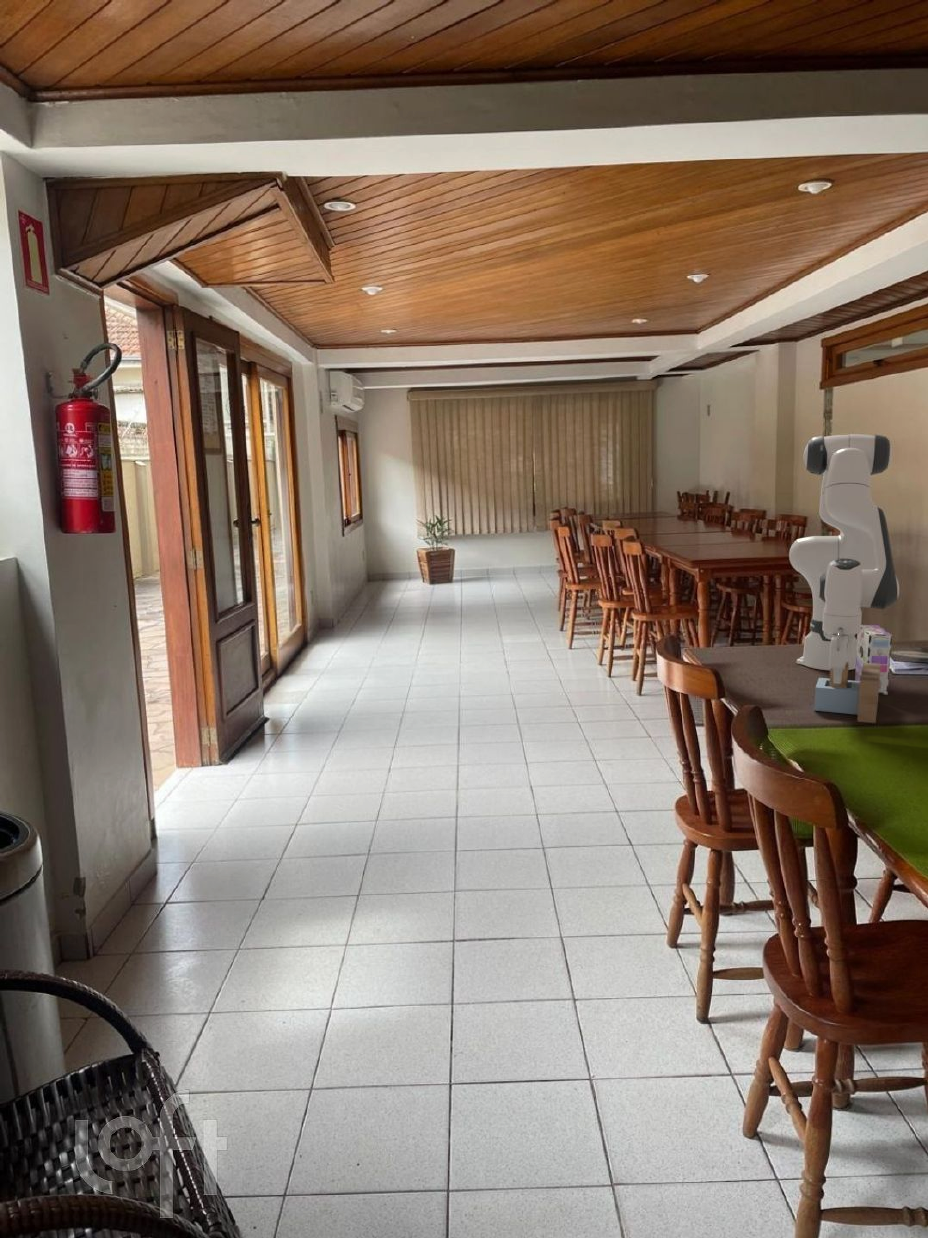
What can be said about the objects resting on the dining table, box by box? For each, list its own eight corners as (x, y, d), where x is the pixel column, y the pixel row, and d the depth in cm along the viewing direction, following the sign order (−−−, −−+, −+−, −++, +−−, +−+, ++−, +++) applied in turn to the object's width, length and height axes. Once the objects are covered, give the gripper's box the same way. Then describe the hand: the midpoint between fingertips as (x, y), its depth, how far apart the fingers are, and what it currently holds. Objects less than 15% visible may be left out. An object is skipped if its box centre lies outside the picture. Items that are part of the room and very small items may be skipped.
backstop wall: (861, 699, 234) (863, 662, 232) (878, 701, 232) (880, 663, 230) (857, 721, 216) (859, 681, 215) (875, 723, 215) (878, 682, 213)
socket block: (817, 699, 234) (819, 677, 233) (859, 703, 230) (860, 681, 229) (814, 710, 225) (815, 687, 224) (857, 714, 221) (859, 691, 220)
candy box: (888, 695, 237) (892, 634, 234) (865, 694, 239) (868, 634, 236) (876, 681, 251) (879, 624, 248) (853, 681, 252) (857, 623, 249)
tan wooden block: (829, 698, 230) (831, 660, 228) (846, 700, 228) (848, 661, 226) (828, 702, 226) (830, 664, 224) (845, 704, 225) (847, 665, 223)
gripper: (853, 633, 213) (849, 690, 216) (857, 618, 231) (854, 670, 234) (824, 632, 216) (821, 687, 218) (831, 616, 234) (828, 668, 236)
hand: (838, 678), depth 226 cm, fingers open, 8 cm apart
